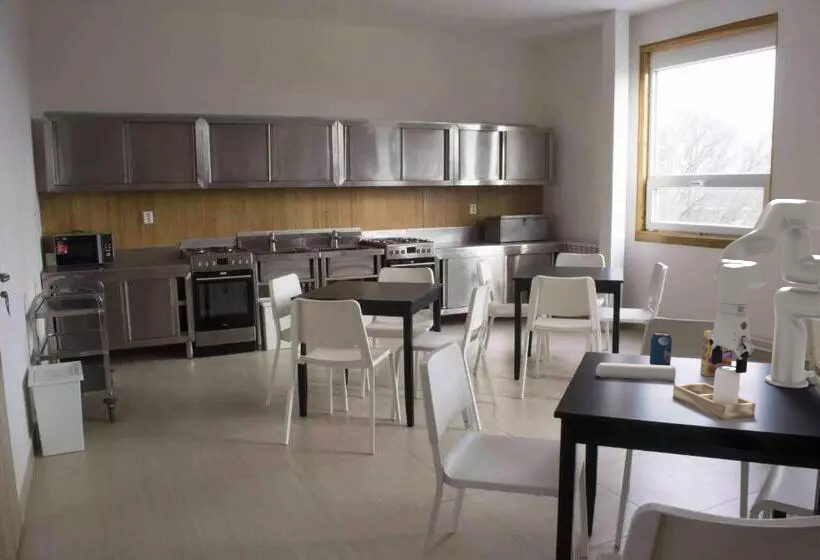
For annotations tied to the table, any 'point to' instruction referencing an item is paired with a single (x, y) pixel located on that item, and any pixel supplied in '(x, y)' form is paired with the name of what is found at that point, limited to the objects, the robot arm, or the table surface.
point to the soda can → (660, 349)
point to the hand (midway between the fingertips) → (728, 367)
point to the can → (726, 385)
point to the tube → (637, 371)
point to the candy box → (706, 364)
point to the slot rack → (712, 402)
